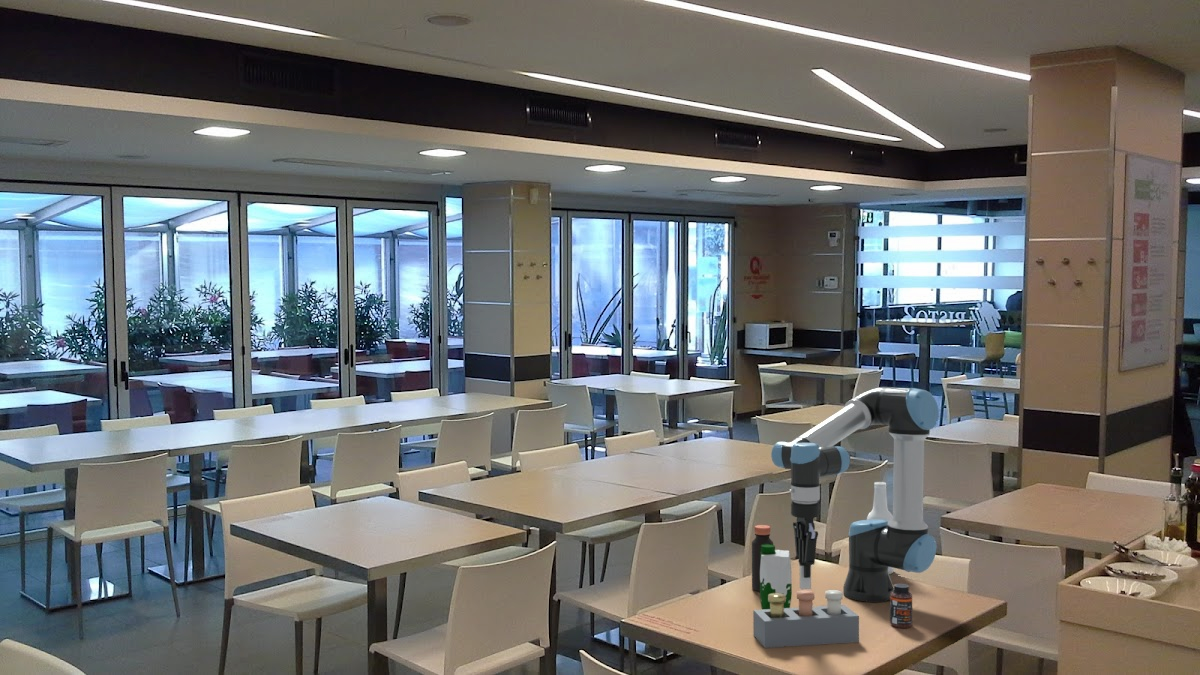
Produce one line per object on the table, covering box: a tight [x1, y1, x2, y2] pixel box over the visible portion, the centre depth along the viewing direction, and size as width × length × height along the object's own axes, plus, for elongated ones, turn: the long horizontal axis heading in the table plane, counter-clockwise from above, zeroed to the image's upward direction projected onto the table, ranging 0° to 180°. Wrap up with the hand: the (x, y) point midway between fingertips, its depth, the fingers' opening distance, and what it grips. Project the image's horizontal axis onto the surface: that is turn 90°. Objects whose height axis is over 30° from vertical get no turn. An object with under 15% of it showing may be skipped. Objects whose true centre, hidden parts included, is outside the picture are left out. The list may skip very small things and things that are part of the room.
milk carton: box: [759, 544, 793, 610], centre depth 292 cm, size 9×9×20 cm
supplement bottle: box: [889, 583, 913, 629], centre depth 280 cm, size 6×6×11 cm
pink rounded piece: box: [796, 589, 815, 617], centre depth 270 cm, size 5×5×7 cm
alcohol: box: [866, 481, 895, 575], centre depth 336 cm, size 9×9×30 cm
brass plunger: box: [768, 593, 786, 618], centre depth 269 cm, size 5×5×7 cm
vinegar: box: [751, 524, 774, 593], centre depth 317 cm, size 7×7×20 cm
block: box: [752, 604, 860, 649], centre depth 270 cm, size 26×10×7 cm, turn 98°
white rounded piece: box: [824, 589, 844, 615], centre depth 271 cm, size 5×5×7 cm
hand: (805, 588), depth 270 cm, fingers closed
